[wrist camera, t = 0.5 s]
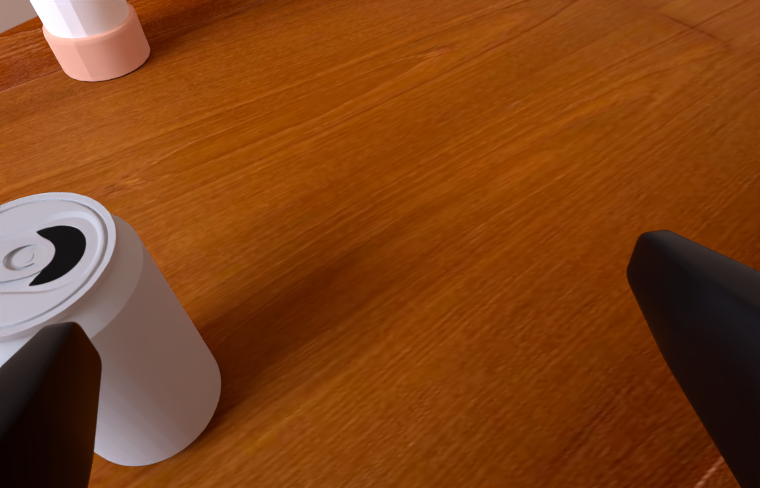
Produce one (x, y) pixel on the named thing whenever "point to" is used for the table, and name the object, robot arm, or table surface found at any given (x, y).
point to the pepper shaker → (93, 37)
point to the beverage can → (108, 321)
